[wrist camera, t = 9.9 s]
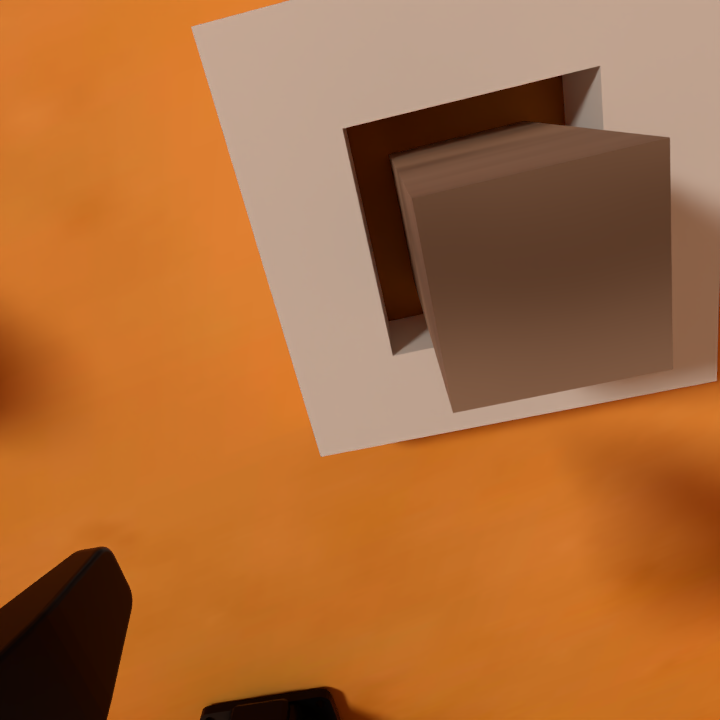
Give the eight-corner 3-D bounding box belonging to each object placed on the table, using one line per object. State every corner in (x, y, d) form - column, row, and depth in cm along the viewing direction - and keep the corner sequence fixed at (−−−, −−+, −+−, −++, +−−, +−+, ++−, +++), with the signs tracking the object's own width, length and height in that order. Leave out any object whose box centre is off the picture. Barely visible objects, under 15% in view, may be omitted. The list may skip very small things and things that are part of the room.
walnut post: (538, 254, 19) (672, 369, 11) (414, 282, 19) (453, 413, 11) (524, 121, 17) (670, 137, 9) (388, 154, 18) (412, 198, 10)
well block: (668, 343, 20) (716, 380, 18) (326, 411, 22) (320, 456, 19) (665, -80, 15) (731, -118, 13) (219, 39, 17) (191, 26, 14)
